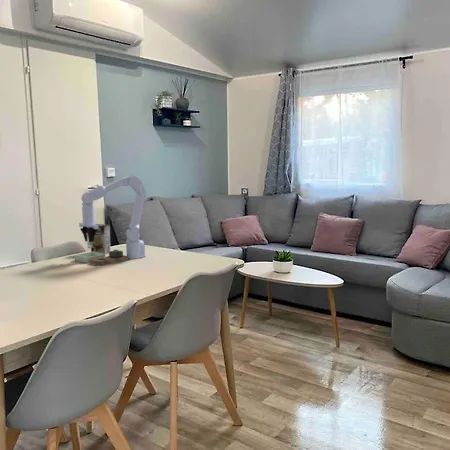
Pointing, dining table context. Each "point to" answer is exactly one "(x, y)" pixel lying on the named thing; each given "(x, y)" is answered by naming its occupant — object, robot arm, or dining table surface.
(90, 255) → the tray
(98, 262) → the tensioner board
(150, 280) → the dining table surface
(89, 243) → the lock pin
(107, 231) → the coffee box
